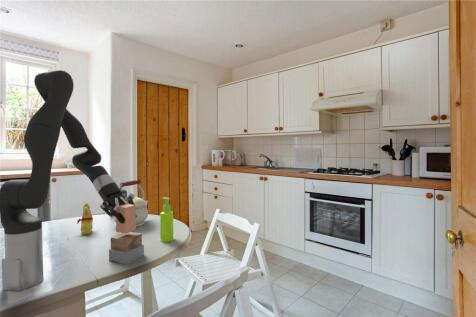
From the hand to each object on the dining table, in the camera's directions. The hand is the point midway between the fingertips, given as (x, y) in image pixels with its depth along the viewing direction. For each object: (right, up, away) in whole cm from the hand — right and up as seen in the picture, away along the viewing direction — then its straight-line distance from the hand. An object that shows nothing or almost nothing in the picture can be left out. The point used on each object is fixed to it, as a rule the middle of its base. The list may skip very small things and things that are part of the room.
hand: (129, 220), depth 101 cm
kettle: (-18, -13, +47) cm, 52 cm away
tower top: (-2, -11, +1) cm, 11 cm away
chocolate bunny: (-36, -14, +31) cm, 50 cm away
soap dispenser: (+9, -14, +21) cm, 27 cm away
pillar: (-2, -4, +1) cm, 5 cm away
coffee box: (-34, -13, +65) cm, 74 cm away
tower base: (-1, -15, +1) cm, 15 cm away
